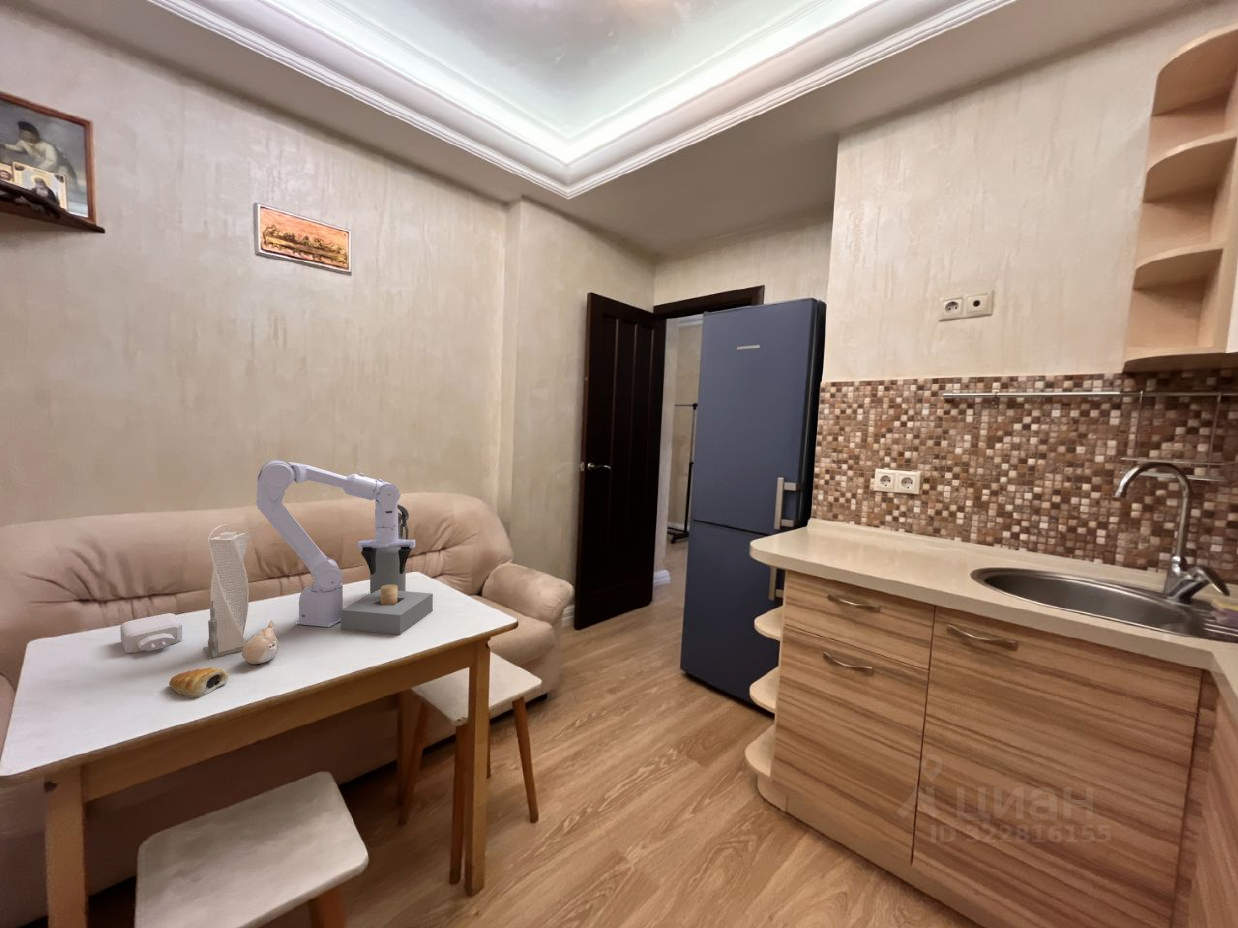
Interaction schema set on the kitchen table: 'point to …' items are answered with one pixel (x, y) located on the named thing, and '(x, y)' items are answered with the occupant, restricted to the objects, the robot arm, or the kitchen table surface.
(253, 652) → the beige rounded figure
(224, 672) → the pastry
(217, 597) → the skyscraper
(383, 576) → the water bottle
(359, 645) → the kitchen table surface
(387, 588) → the peg
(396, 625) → the socket block
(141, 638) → the charger
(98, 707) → the kitchen table surface
